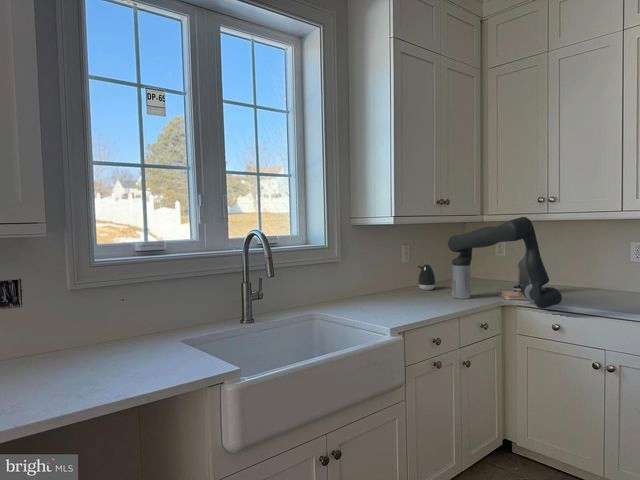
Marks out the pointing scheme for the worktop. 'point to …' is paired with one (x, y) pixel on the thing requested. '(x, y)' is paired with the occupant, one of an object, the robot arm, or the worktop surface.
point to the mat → (511, 299)
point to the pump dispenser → (426, 277)
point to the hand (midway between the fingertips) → (520, 286)
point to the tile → (513, 295)
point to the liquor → (523, 271)
